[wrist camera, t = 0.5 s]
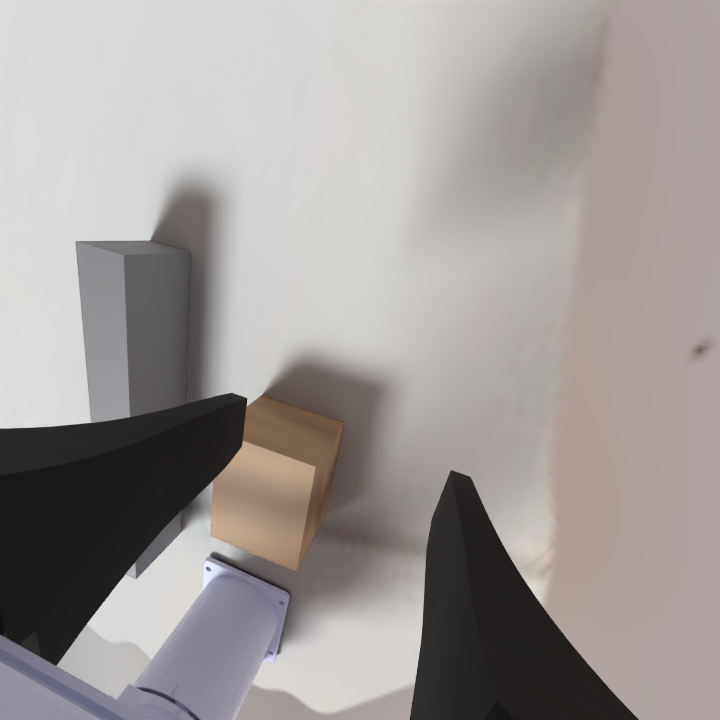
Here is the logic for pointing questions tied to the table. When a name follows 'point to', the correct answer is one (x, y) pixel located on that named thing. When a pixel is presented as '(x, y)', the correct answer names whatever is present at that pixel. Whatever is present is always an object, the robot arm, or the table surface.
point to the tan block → (277, 482)
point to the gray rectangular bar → (135, 338)
